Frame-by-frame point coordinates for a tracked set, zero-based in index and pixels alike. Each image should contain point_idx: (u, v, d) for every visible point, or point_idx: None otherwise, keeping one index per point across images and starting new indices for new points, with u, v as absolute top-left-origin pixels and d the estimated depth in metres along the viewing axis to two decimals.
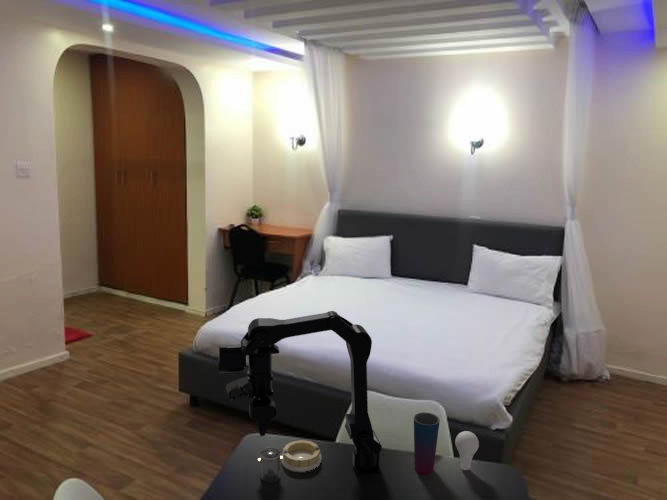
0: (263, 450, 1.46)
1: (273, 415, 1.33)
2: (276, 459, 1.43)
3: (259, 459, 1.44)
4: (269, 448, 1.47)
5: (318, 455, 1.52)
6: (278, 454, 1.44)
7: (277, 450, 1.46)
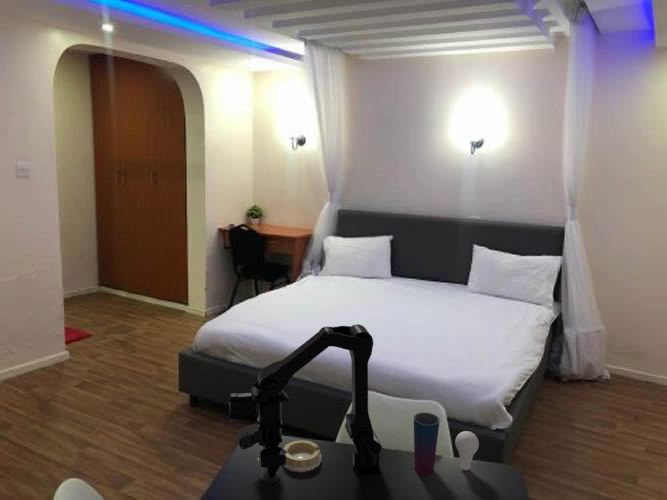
0: None
1: (283, 464, 1.36)
2: None
3: (259, 459, 1.44)
4: None
5: (318, 455, 1.52)
6: None
7: None
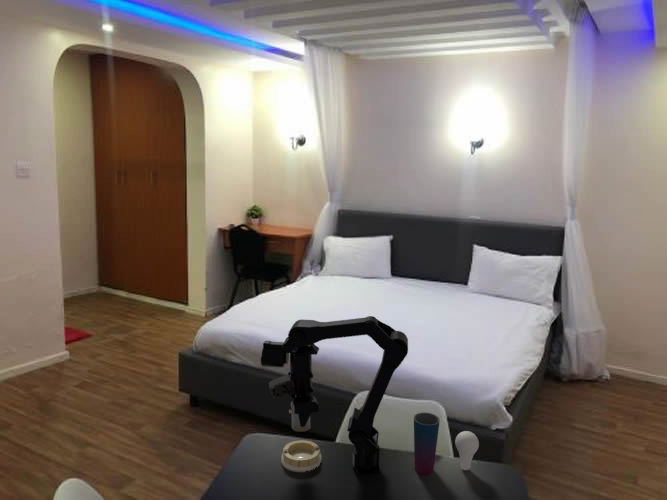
0: None
1: (315, 410, 1.41)
2: None
3: (290, 409, 1.49)
4: None
5: (318, 455, 1.52)
6: None
7: None
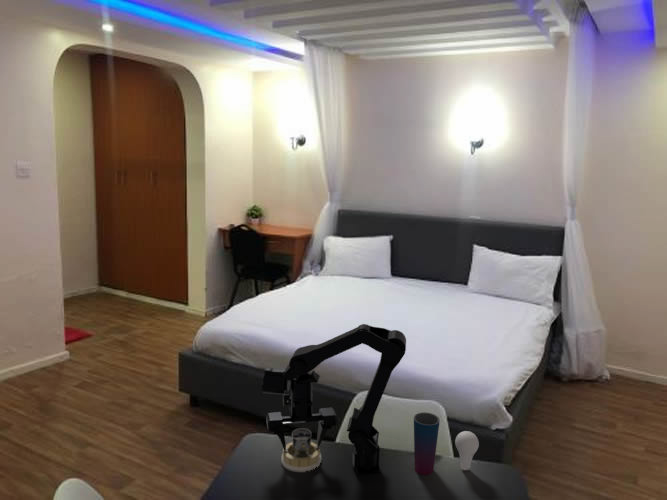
0: (305, 429, 1.54)
1: (268, 429, 1.47)
2: (295, 439, 1.50)
3: None
4: (309, 432, 1.52)
5: (318, 455, 1.52)
6: (298, 437, 1.50)
7: (305, 436, 1.50)
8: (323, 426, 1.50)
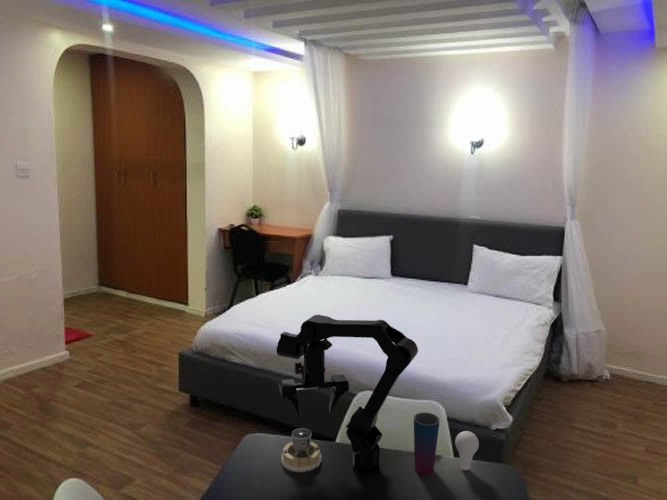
0: (305, 429, 1.54)
1: (281, 395, 1.49)
2: (295, 439, 1.50)
3: None
4: (309, 432, 1.52)
5: (318, 455, 1.52)
6: (298, 437, 1.50)
7: (305, 436, 1.50)
8: (335, 392, 1.53)
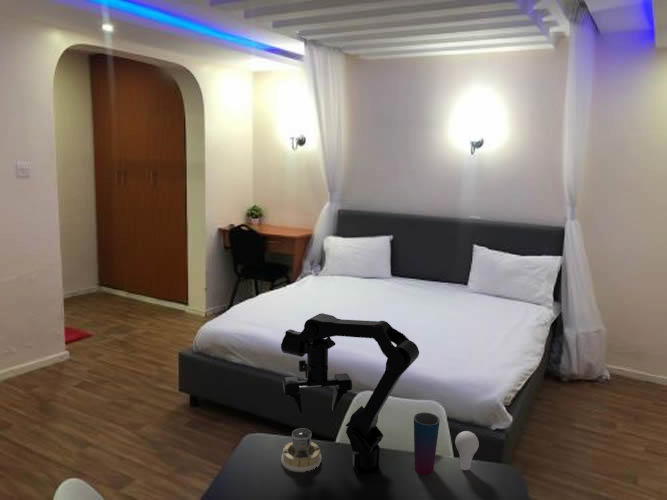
0: (305, 429, 1.54)
1: (284, 392, 1.50)
2: (295, 440, 1.50)
3: None
4: (309, 432, 1.52)
5: (318, 455, 1.52)
6: (298, 437, 1.50)
7: (305, 436, 1.50)
8: (338, 390, 1.54)
